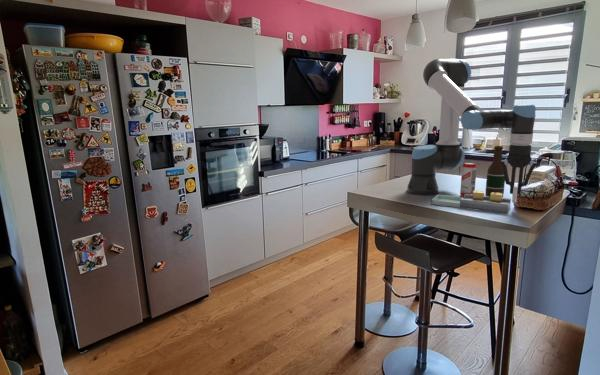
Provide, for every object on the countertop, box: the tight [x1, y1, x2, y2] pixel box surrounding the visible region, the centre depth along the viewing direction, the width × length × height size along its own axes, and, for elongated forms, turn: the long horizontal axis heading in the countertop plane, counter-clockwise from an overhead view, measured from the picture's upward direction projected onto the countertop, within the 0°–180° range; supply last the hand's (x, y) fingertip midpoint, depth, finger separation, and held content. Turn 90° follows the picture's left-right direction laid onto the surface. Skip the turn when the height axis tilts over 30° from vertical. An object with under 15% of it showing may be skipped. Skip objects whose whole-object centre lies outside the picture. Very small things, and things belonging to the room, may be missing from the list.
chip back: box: [472, 190, 485, 201], centre depth 156 cm, size 4×4×4 cm
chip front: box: [490, 192, 504, 203], centre depth 152 cm, size 4×4×4 cm
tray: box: [430, 193, 464, 209], centre depth 163 cm, size 12×12×2 cm
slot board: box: [460, 194, 512, 214], centre depth 155 cm, size 18×11×4 cm, turn 56°
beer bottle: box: [484, 145, 506, 198], centre depth 169 cm, size 8×8×24 cm
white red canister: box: [459, 161, 477, 197], centre depth 172 cm, size 6×6×16 cm
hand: (514, 201), depth 148 cm, fingers closed
